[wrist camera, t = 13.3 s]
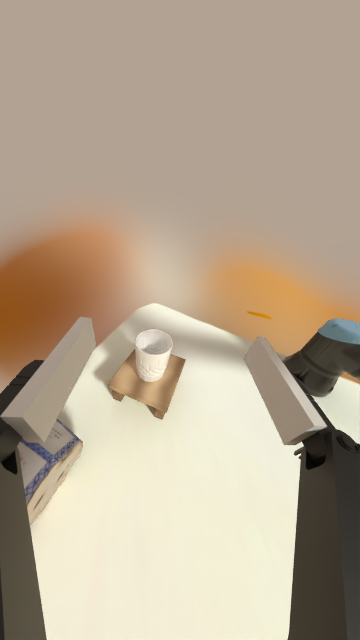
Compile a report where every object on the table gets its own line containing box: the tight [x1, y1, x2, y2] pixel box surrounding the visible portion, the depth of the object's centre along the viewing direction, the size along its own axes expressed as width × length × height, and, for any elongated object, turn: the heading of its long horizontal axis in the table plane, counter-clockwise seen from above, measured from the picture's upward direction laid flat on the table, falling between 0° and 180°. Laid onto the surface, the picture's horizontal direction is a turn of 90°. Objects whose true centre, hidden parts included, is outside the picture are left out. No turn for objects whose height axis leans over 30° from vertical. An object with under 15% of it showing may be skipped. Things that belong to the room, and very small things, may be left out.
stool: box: [108, 349, 185, 419], centre depth 41 cm, size 14×14×7 cm
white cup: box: [135, 329, 173, 382], centre depth 37 cm, size 8×8×10 cm
